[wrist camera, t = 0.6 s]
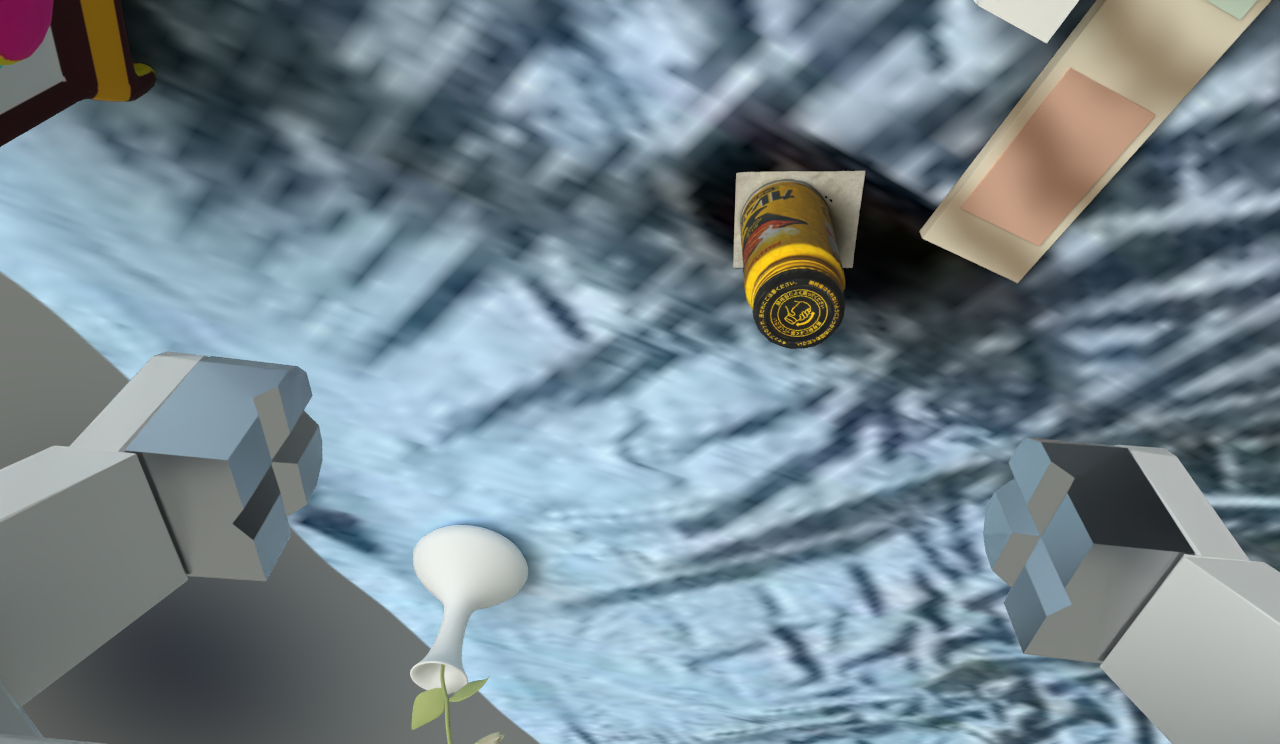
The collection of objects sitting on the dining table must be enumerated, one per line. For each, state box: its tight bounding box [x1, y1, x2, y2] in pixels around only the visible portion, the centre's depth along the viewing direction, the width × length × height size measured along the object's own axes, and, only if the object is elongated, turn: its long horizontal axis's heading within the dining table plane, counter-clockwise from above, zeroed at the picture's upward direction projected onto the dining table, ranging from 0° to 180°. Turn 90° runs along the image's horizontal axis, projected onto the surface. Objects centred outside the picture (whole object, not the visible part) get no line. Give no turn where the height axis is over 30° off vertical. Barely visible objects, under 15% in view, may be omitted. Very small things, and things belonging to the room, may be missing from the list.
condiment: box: [733, 171, 865, 349], centre depth 51 cm, size 7×8×12 cm
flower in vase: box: [410, 525, 528, 744], centre depth 70 cm, size 13×11×25 cm
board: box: [919, 0, 1271, 283], centre depth 46 cm, size 32×8×1 cm, turn 156°
